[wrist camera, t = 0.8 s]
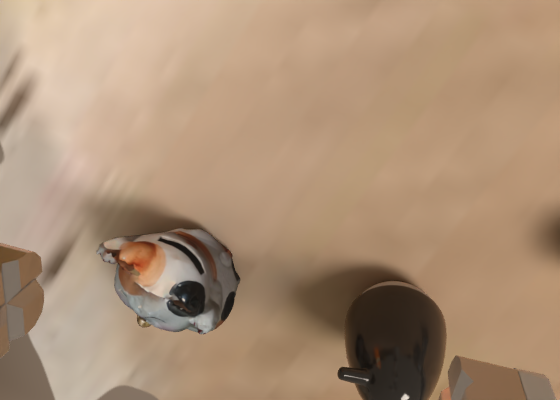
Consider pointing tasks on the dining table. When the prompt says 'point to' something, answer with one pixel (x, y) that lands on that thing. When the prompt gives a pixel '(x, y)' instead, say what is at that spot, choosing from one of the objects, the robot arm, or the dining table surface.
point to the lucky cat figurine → (174, 278)
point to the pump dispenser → (394, 343)
